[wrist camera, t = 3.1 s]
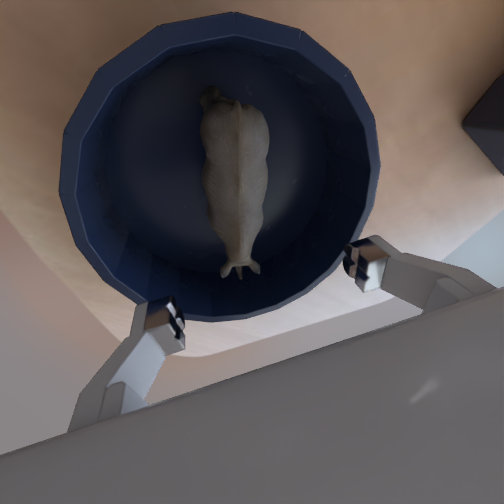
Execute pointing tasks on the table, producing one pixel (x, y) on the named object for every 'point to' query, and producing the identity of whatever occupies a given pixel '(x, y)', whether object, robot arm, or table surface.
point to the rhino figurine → (234, 174)
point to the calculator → (489, 124)
